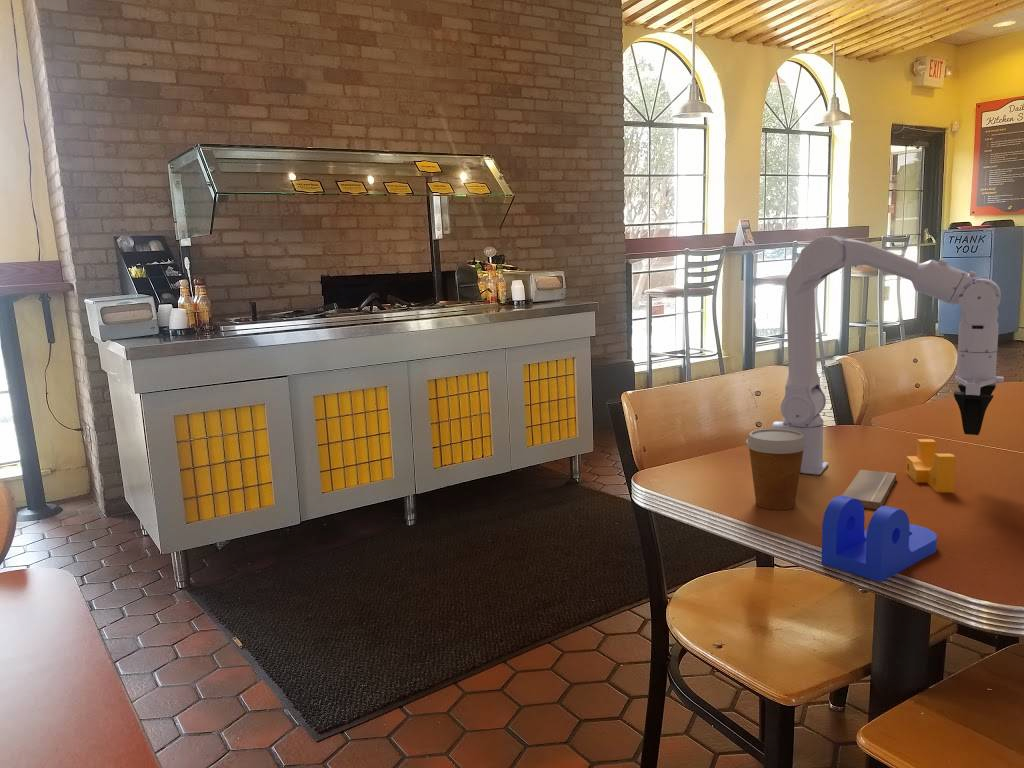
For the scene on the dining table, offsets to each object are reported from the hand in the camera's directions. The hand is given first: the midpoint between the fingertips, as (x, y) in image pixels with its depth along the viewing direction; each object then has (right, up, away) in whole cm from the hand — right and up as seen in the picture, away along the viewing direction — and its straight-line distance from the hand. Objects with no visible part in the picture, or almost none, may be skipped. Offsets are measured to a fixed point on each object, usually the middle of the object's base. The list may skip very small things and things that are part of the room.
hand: (973, 429), depth 135 cm
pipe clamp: (-5, -10, +5) cm, 12 cm away
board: (-17, -11, +1) cm, 20 cm away
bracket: (-27, -16, -25) cm, 40 cm away
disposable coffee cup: (-35, -13, -2) cm, 37 cm away
